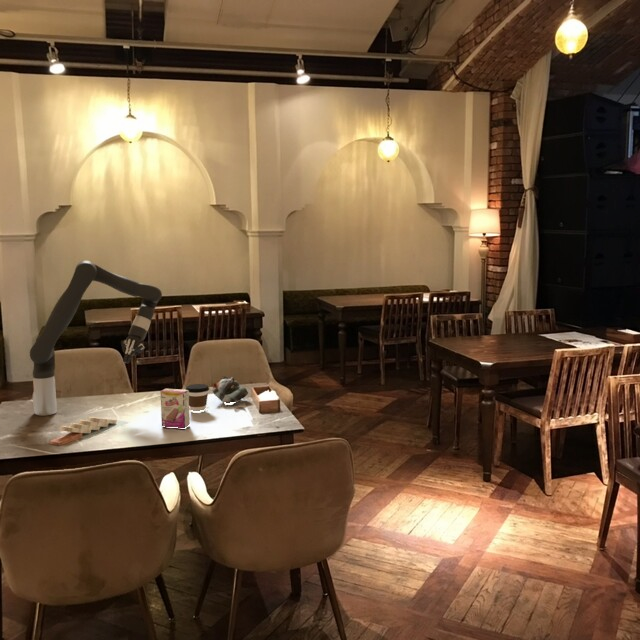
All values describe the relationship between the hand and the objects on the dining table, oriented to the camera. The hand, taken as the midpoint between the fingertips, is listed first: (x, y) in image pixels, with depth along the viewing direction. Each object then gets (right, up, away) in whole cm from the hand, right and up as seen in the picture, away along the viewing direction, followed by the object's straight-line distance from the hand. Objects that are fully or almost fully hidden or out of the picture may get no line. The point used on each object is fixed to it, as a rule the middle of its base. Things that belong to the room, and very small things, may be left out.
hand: (125, 362), depth 319 cm
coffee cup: (+31, -23, +7) cm, 40 cm away
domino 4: (-5, -25, -17) cm, 31 cm away
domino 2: (-9, -27, -25) cm, 38 cm away
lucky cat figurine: (+45, -21, +22) cm, 54 cm away
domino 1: (-11, -27, -30) cm, 42 cm away
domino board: (-7, -27, -20) cm, 34 cm away
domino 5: (-3, -25, -12) cm, 28 cm away
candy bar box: (+26, -27, -17) cm, 41 cm away
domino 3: (-7, -26, -21) cm, 34 cm away
